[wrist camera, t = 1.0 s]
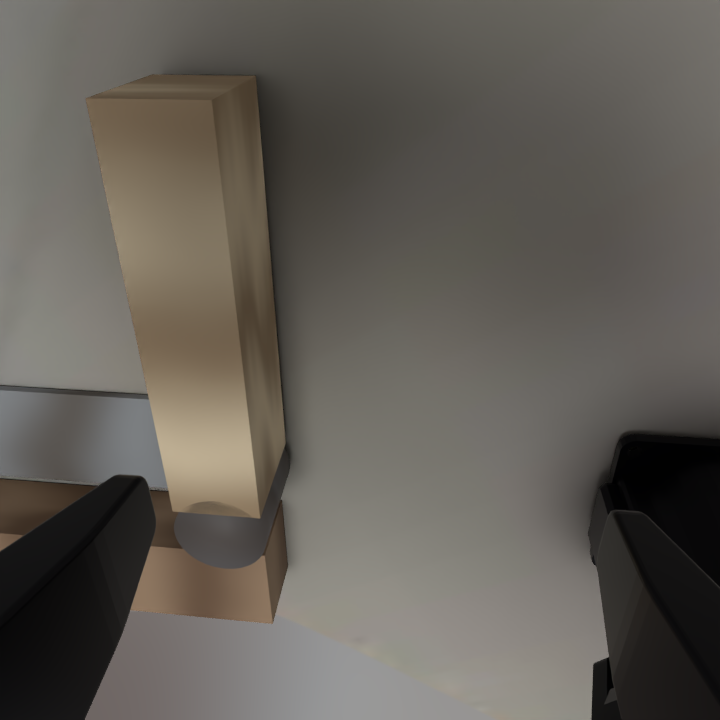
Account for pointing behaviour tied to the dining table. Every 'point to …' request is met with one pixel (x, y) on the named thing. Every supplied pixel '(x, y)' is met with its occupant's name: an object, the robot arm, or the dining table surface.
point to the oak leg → (200, 298)
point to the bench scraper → (99, 463)
